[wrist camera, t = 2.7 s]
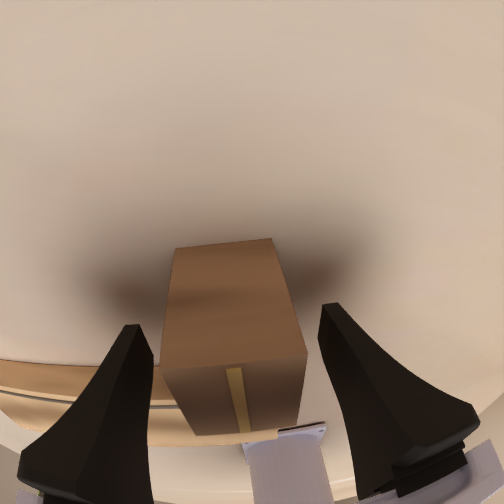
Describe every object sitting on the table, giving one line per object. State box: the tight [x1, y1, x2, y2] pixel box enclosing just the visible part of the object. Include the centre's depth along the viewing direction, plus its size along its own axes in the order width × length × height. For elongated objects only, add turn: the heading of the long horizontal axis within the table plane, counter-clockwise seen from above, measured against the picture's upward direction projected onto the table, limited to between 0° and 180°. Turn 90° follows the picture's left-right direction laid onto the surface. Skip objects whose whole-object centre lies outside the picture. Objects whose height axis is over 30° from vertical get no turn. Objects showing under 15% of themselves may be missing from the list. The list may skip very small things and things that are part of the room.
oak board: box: [0, 360, 278, 447], centre depth 17 cm, size 8×24×2 cm, turn 93°
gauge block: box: [159, 238, 308, 436], centre depth 12 cm, size 7×4×6 cm, turn 3°
